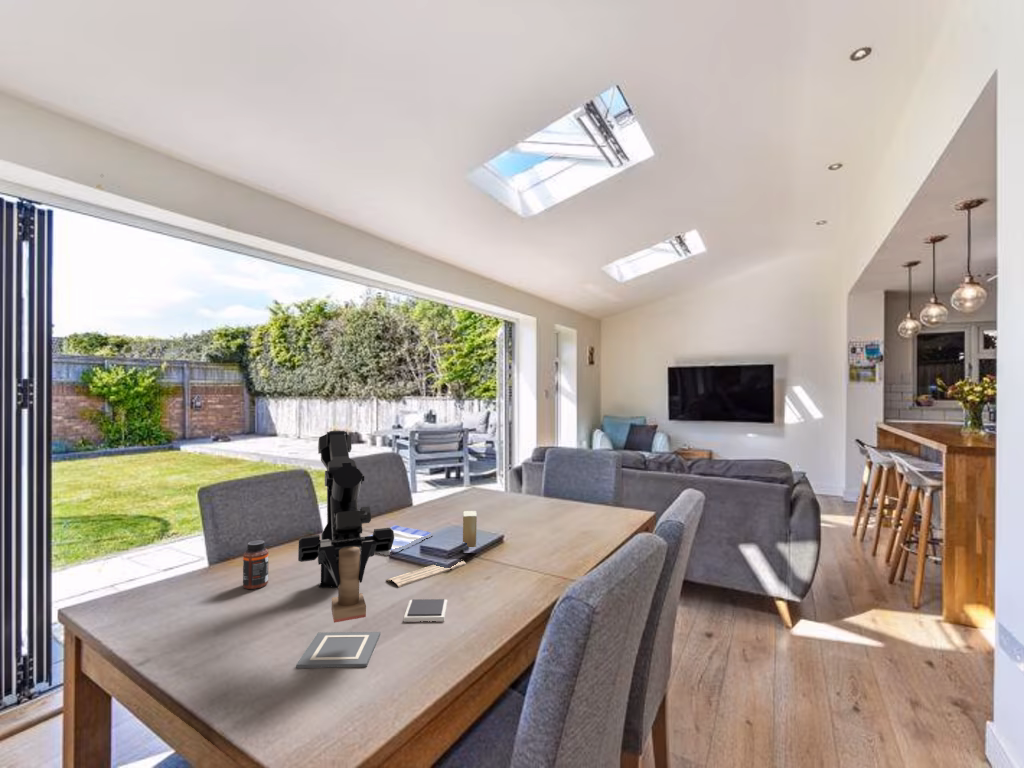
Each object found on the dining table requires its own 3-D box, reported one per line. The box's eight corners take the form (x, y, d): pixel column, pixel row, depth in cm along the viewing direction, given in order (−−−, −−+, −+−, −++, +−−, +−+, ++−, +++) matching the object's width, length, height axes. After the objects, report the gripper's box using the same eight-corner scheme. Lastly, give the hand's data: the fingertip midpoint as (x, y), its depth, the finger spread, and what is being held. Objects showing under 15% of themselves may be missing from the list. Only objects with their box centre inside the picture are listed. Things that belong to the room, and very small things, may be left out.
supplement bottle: (273, 583, 130) (274, 540, 130) (253, 591, 125) (253, 547, 125) (257, 579, 133) (258, 537, 133) (237, 587, 128) (238, 543, 128)
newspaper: (398, 590, 129) (398, 583, 129) (383, 582, 134) (383, 576, 134) (466, 567, 146) (466, 561, 146) (450, 561, 151) (450, 555, 151)
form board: (296, 667, 92) (296, 664, 92) (318, 635, 104) (318, 632, 104) (366, 666, 93) (366, 663, 93) (380, 634, 104) (380, 631, 104)
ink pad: (403, 621, 110) (403, 615, 110) (410, 604, 119) (410, 598, 119) (444, 621, 111) (444, 615, 111) (447, 603, 120) (447, 597, 120)
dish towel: (347, 549, 160) (347, 540, 160) (396, 530, 181) (396, 523, 181) (389, 558, 152) (389, 549, 152) (434, 538, 173) (434, 530, 173)
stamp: (331, 608, 101) (332, 546, 100) (361, 603, 103) (363, 543, 103) (333, 622, 95) (335, 557, 95) (365, 617, 98) (367, 553, 97)
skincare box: (462, 547, 161) (463, 510, 161) (476, 547, 161) (476, 510, 161) (462, 554, 154) (462, 515, 154) (476, 554, 155) (476, 515, 155)
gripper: (299, 497, 99) (299, 571, 89) (393, 490, 106) (403, 558, 96) (298, 526, 106) (298, 597, 96) (386, 517, 114) (394, 583, 104)
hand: (349, 583), depth 98 cm, fingers closed on stamp, 4 cm apart
